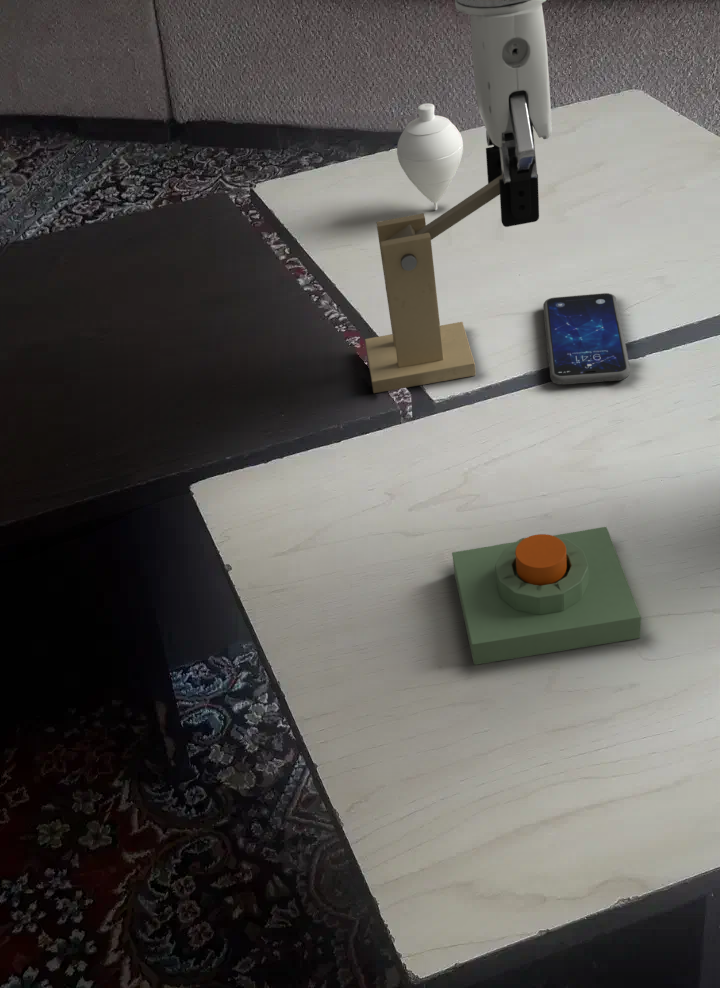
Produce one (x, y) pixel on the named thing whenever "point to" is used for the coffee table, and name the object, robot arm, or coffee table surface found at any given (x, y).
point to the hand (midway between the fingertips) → (513, 204)
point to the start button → (541, 559)
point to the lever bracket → (414, 317)
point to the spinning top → (430, 152)
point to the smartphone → (585, 339)
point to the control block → (545, 600)
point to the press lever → (457, 210)
